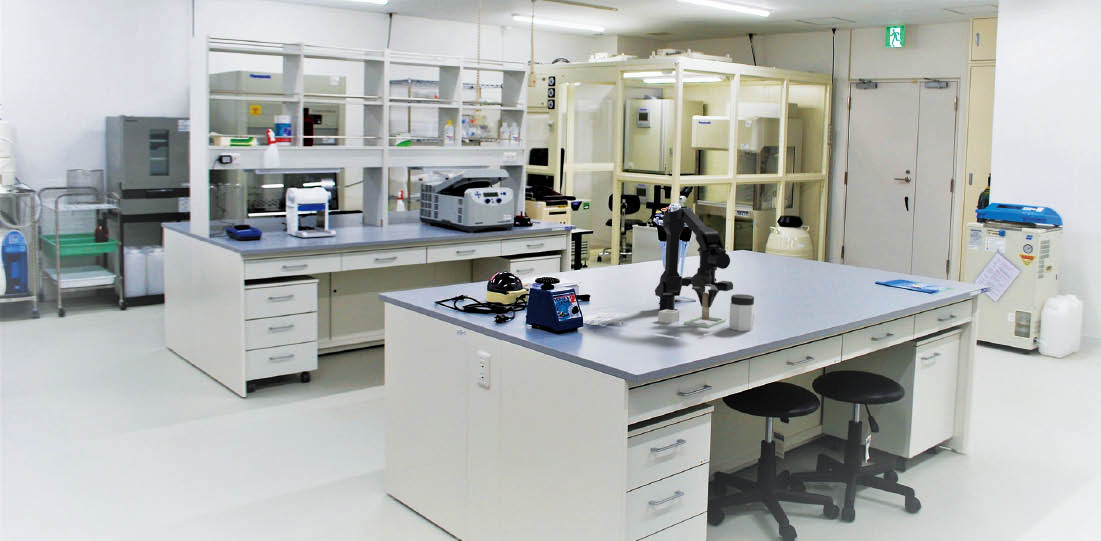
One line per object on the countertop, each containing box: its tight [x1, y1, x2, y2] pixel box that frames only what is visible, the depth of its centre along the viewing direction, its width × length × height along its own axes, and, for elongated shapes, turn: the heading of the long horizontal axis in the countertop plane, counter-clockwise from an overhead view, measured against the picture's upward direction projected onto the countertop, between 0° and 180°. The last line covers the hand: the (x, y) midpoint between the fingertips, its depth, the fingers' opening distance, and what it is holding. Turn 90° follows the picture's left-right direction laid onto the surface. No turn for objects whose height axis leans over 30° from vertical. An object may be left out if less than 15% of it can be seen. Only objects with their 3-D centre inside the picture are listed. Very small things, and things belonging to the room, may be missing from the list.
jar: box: [728, 293, 755, 332], centre depth 323 cm, size 9×8×12 cm
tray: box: [683, 315, 727, 329], centre depth 329 cm, size 14×10×2 cm
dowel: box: [701, 291, 710, 321], centre depth 328 cm, size 3×3×10 cm
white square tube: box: [657, 309, 680, 324], centre depth 331 cm, size 6×6×4 cm
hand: (705, 306), depth 328 cm, fingers closed on dowel, 2 cm apart
